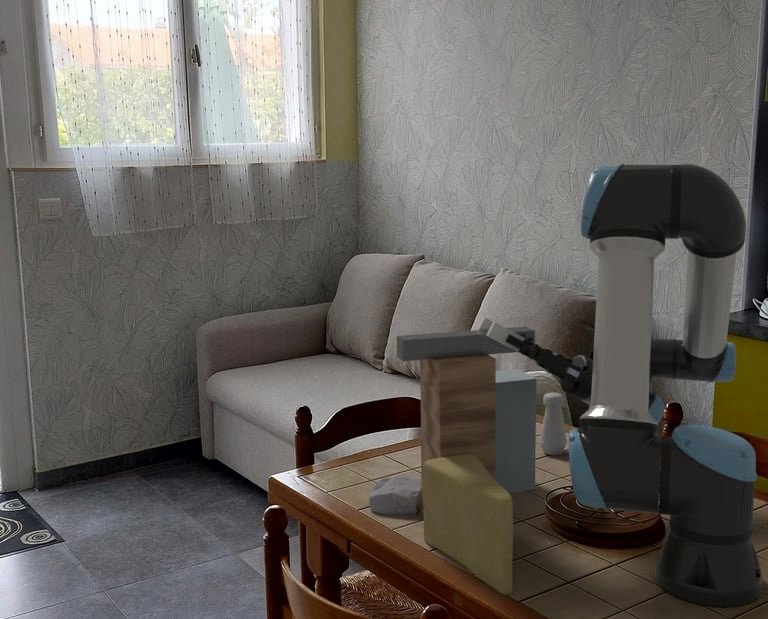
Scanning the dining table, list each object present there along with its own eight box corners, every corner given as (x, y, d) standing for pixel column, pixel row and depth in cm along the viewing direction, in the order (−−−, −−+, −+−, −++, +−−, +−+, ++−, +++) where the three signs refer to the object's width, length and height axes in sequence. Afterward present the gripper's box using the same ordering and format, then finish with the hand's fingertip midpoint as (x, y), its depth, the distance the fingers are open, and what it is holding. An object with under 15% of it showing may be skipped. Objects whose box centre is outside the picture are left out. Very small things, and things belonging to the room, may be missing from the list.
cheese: (537, 590, 136) (539, 496, 133) (478, 602, 133) (479, 505, 130) (474, 533, 156) (474, 449, 154) (422, 541, 153) (421, 457, 151)
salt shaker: (570, 450, 195) (571, 392, 193) (560, 458, 191) (561, 399, 188) (545, 446, 199) (546, 388, 196) (534, 454, 194) (535, 395, 191)
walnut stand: (498, 527, 157) (499, 359, 152) (439, 536, 154) (437, 364, 149) (474, 503, 168) (474, 345, 162) (418, 511, 165) (416, 350, 159)
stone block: (367, 522, 165) (420, 516, 163) (362, 497, 165) (415, 490, 162) (382, 500, 177) (431, 493, 174) (377, 476, 176) (426, 469, 174)
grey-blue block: (535, 489, 174) (536, 378, 170) (467, 499, 170) (466, 385, 166) (517, 475, 182) (518, 368, 178) (451, 484, 178) (451, 375, 174)
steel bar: (534, 350, 158) (535, 330, 157) (403, 361, 151) (403, 340, 151) (525, 346, 161) (526, 326, 161) (396, 356, 155) (396, 335, 154)
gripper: (603, 412, 156) (494, 356, 149) (558, 388, 172) (457, 336, 164) (623, 374, 156) (516, 315, 148) (576, 353, 172) (477, 299, 164)
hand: (485, 326), depth 156 cm, fingers closed on steel bar, 4 cm apart
